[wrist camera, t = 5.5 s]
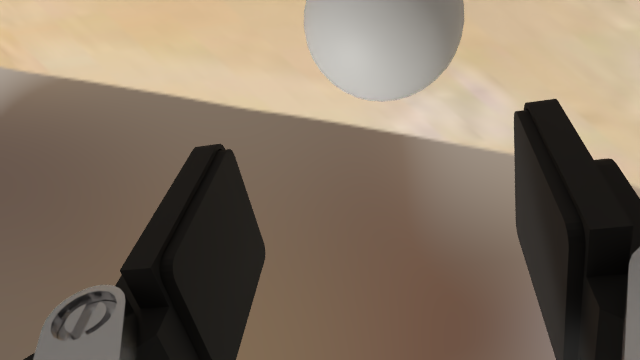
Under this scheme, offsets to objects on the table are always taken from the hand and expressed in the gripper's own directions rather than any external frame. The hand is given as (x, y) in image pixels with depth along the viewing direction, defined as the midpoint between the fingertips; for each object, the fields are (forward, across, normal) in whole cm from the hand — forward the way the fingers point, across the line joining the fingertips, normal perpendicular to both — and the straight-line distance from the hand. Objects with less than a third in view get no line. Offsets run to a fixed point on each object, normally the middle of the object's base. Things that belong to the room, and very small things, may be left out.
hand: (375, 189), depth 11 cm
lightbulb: (+20, 0, 0) cm, 20 cm away
